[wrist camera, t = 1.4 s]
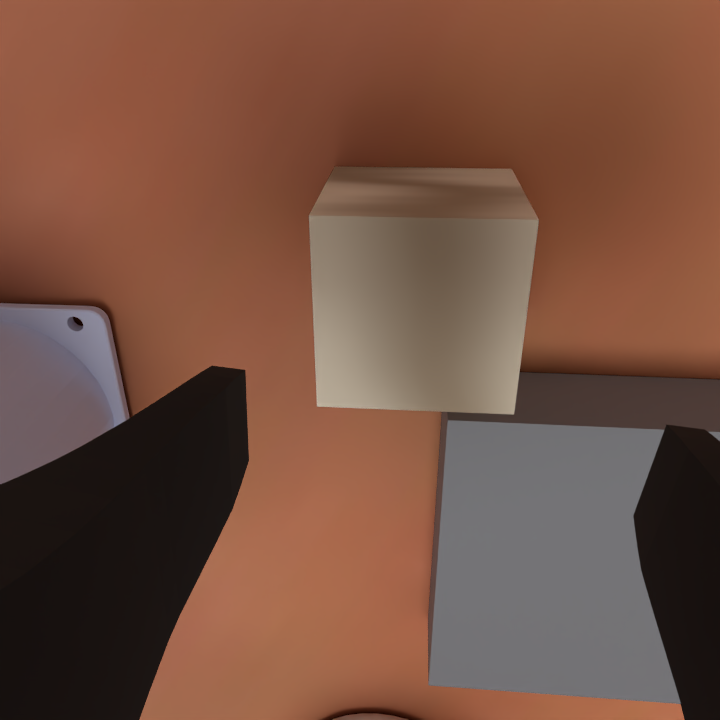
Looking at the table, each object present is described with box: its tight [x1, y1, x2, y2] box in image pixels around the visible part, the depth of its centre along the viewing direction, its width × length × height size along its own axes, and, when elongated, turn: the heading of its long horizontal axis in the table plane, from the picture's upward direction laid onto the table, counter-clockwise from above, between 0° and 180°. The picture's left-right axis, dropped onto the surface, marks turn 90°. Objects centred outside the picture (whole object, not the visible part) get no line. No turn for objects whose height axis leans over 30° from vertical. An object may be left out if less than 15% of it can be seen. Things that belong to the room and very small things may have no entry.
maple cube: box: [309, 166, 539, 414], centre depth 18 cm, size 5×5×5 cm
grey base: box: [428, 372, 720, 704], centre depth 23 cm, size 12×12×3 cm
